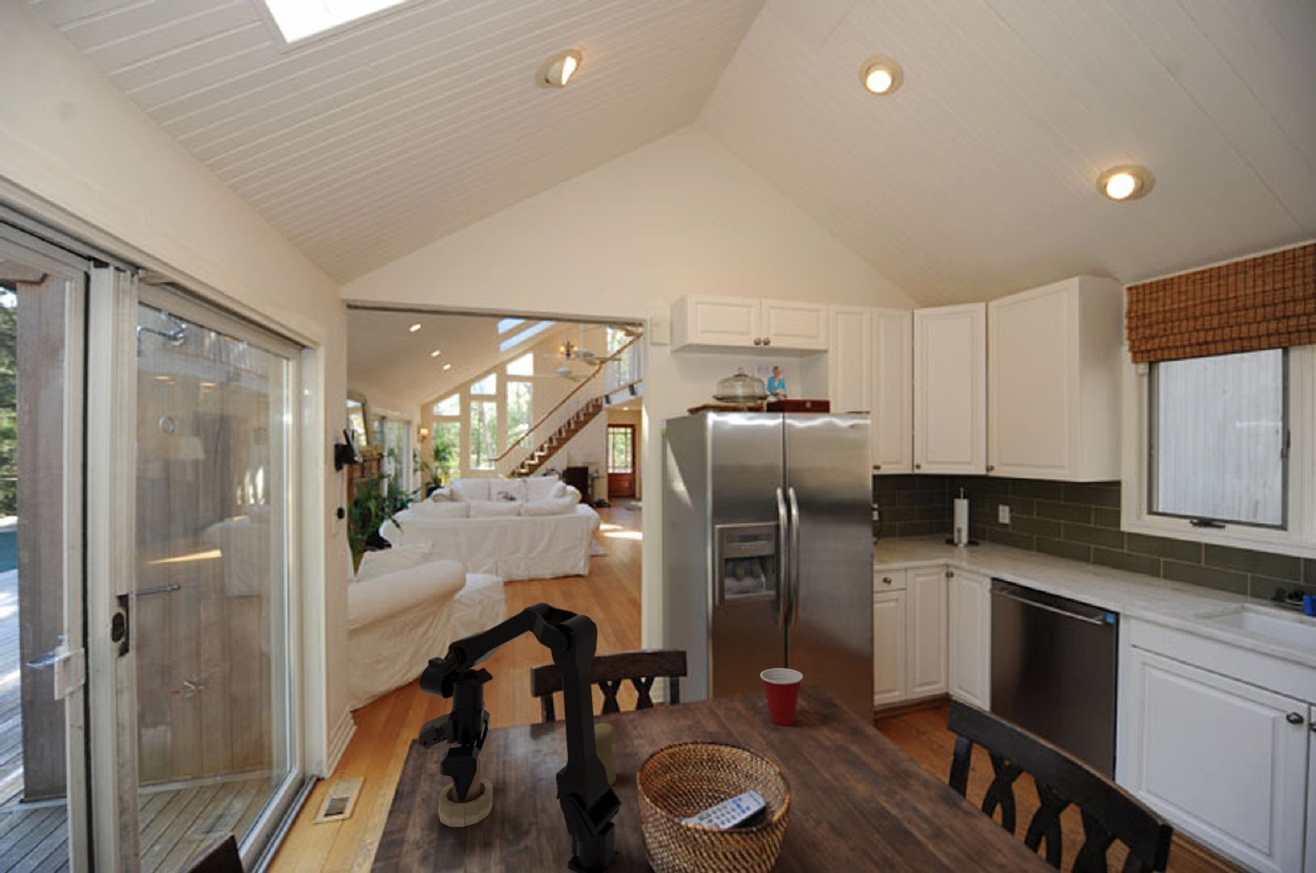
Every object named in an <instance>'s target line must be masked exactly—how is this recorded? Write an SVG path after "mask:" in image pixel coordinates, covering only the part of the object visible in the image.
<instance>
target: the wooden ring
mask: <svg viewBox="0 0 1316 873" xmlns="http://www.w3.org/2000/svg"><path fill="white" fill-rule="evenodd" d="M493 792H494V791H493V785H492V783H491V781H490V780H488V779H486V778H484V777H481V776H480V797H479V798H478V799H476V800H474V801H470V802H467V803H453V802H452V795H453V781H451V782H450V783H448V784H447V785H446V786H445V787H443V789H442V790H441V791H440V794H439V795H438V817H439V821H440V823H442V824H444V825H445V826H448V827H449V828H450V827H451V828H463V827H468V826H471V825H474V824H477V823H479V822H481V821H482V820H484V819H485V818H486V817H487V816H489V814H490V812H491V810H492V808H493V795H494V794H493Z"/></svg>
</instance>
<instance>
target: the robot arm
mask: <svg viewBox="0 0 1316 873" xmlns="http://www.w3.org/2000/svg"><path fill="white" fill-rule="evenodd" d="M529 632H530V633H532V634H533V636H534V637H535V639H536V640H537V642H539V644H540V645H543V646H544V647H546V648H548V649H550V653H551V657H552V662H553V663H554V665H555V666H556V667H557V669H558V671H559V673H560V674H561V678H562V680H561V682H562V692H563V693H562V694H563V708H564V709H563V713H564V724H565V727H564V728H565V740H566V752H567V755H566V756H567V762H566V764H565V765H564V766H563V767H562V768H561V769H560V770H558V771H557V772H556V774H555V782H556V788H557V793H556V800H559V806H560V810H561V812H562V815H563V817H564V821H565V825H566V829H567V833H568V835H569V836H571V855H572V857H571V858H570V859H569V860H568V861H567V867H568V868H570V869H572V870H574V871H577V872H579V873H607V872H608V870H610V868H611V867H612V866H613V864H614V863H615V862H616V861H617V860H618V858H620V851H618V850H616V849H615V844H616V843H615V840H616V839H615V837H616V836H615V831H616V829H615V828H616V826H615V823H614V822H612V820H613V819H614V818H615V817H616V816H617V815H618V814H619V813H620V810H621V807H622V804H623V802H622V801H621V799H620V797H619V796H618V795H617V793H616V792H615V791H614V789H613V787H612V785H611V786H610V784H609V783H608V779H607V774H606V769H605V766H604V764H603V763H602V761H601V760H600V758H599V757H598V755H597V753H596V743H595V729H594V725H595V719H594V718H595V715H594V705H593V689H592V688H593V687H592V677H591V676H592V675H591V668H592V664H593V661H594V658H595V656H596V652H597V646H598V645H597V644H598V634H599V632H598V627H597V623H596V622H595V621H593V620H592V618H591V617H589V616H588V615H585V614H578V613H577V612H575V611H572V610H567V609H562V608H559V607H555V606H553V605H550V604H549V603H547V602H538V603H535V604H532V605H529V606H527V607H525V608H524V609H523V610H522V611H520V612H519V613H516V614H515V615H513V616H511V617H509V618H508V619H505V620H504V621H502V622H500V623H499V624H497V625H495V626H493V627H491V628H489V629H486V630H482V631H478V632H475V633H471V634H470V635H468V636H465V637H461V638H460V639H457V640H455V641H451V643H449V645H448V648H447V649H448V650H447V653H446V655H445V657H444V658H442V657H440V656H435V657H433V658H430V659H428V660H427V664H428V665H427V666H426V667H425V668H424V670H423V671H422V673H421V676H420V678H419V679H418V685H419V688H420V691H421V692H423V693H425V694H428V695H432V696H435V697H439V698H442V699H452V701H451V702H452V704H451V706H452V707H451V711H450V712H449V713H445V714H443V715H440V716H438V717H436V718H433V719H431V720H428V721H426V722H424V724H423V725H422V726H421V728H420V730H419V732H418V739H419V740H418V745H419V746H422V747H423V749H424V751H425V750H429V749H431V748H432V747H433V746H436V745H438V744H440V743H443V742H444V741H446V744H447V745H448V744H451V745H452V744H453V745H454V744H455V743H456V744H458V745H460V746H455V747H449V748H448V749H447V750H446V751H445V752H444V753H443V756H442V758H441V761H440V768H439V769H440V770H439V774H440V775H441V776H445V777H450V778H451V780H452V782H454V785H455V789H456V792H457V796H458V800H459V801H464V800H465V799H466V796H467V794H468V791H469V789H470V786H471V784H472V781H473V779H474V776H475V774H476V772H477V769H478V765H479V758H480V755H481V753H482V752H481V751H482V749H483V745H484V743H485V741H486V739H487V735H488V732H489V727H490V724H491V722H490V721H491V713H490V712H488V711H487V709H485V708H486V701H485V700H484V696H485V692H484V691H485V687H484V686H485V684H486V683H488V682H490V681H493V679H494V675H492V673H491V672H489V671H488V670H487V669H486V667H482V668H479V669H474V667H476V666H478V665H480V664H481V663H482V664H483V663H484V662H486V661H488V660H489V659H490V658H491V657H492V656H494V654H495V653H496V652H497V651H498V649H500V648H501V647H502V646H504V645H506V644H508V643H509V642H512V641H513V640H516V639H518V638H519V637H521V636H523V635H525V634H527V633H529Z"/></svg>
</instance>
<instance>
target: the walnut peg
mask: <svg viewBox="0 0 1316 873" xmlns="http://www.w3.org/2000/svg"><path fill="white" fill-rule="evenodd" d="M481 761H482V760H481V758H480V757H479V765H478V769H477V772H476V774H475V776H474V779H473V781H472V784H471V786H470V789H469V791H468V794H467V796H466V799H465V800H464V801H459V800H458V796H457V792H456V789H455V785H454V782H453V781H452V782H453V795H452V802H453V803H467V802H470V801H474V800H476V799H478V798H479V797H480V777H481V768H482V766H481V764H482V762H481Z"/></svg>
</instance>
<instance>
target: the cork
mask: <svg viewBox="0 0 1316 873" xmlns="http://www.w3.org/2000/svg"><path fill="white" fill-rule="evenodd" d="M594 729H595V743H596V753H597V755H598V757H599V758H600V760H601V761H602V763H603V764H604V766H605V769H606V774H607V779H608V783H609V784H610V786H611V787H612V786H613V785H614V784H615V782H616V779H617V776H616V767H615V758H614V750H613V749H614V748H613V742H614V738H615V736H616V735H615V729H614V727H613V726H612V725H611V724H609V723H605V722H600V723H597V724H594Z"/></svg>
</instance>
